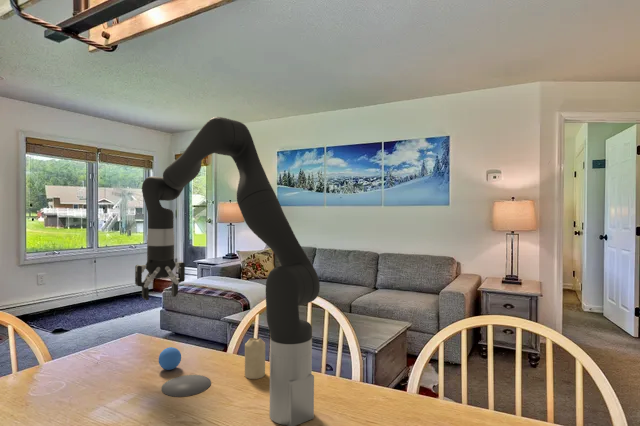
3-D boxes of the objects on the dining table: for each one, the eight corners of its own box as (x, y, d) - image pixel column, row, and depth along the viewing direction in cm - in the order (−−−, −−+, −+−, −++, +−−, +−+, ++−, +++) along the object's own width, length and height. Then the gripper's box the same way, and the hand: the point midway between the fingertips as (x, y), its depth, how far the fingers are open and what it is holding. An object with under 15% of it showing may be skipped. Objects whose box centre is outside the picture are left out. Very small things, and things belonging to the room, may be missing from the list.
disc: (218, 387, 100) (218, 386, 100) (170, 401, 93) (170, 400, 93) (200, 371, 110) (200, 371, 110) (155, 383, 102) (155, 382, 102)
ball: (184, 369, 111) (184, 348, 111) (162, 375, 107) (162, 353, 107) (177, 363, 116) (177, 342, 116) (155, 368, 112) (155, 347, 112)
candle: (267, 371, 111) (267, 335, 110) (262, 379, 105) (262, 342, 105) (247, 370, 111) (248, 335, 111) (242, 378, 106) (242, 341, 105)
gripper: (138, 245, 111) (138, 304, 112) (188, 243, 120) (188, 297, 120) (131, 243, 117) (131, 298, 117) (180, 241, 126) (180, 292, 126)
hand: (160, 297), depth 119 cm, fingers open, 7 cm apart
